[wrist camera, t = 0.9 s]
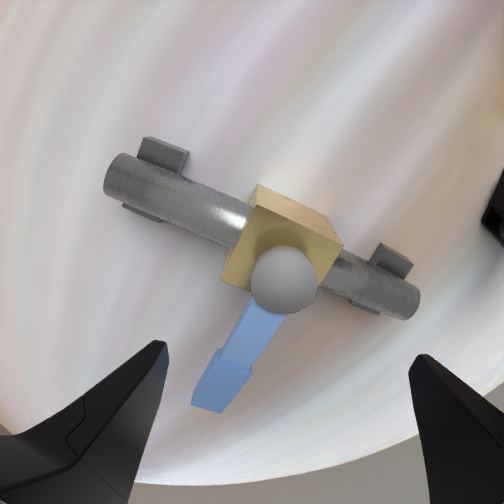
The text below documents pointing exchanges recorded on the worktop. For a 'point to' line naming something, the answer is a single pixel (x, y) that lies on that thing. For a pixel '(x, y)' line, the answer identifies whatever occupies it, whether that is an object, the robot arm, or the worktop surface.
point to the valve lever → (257, 323)
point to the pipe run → (258, 229)
